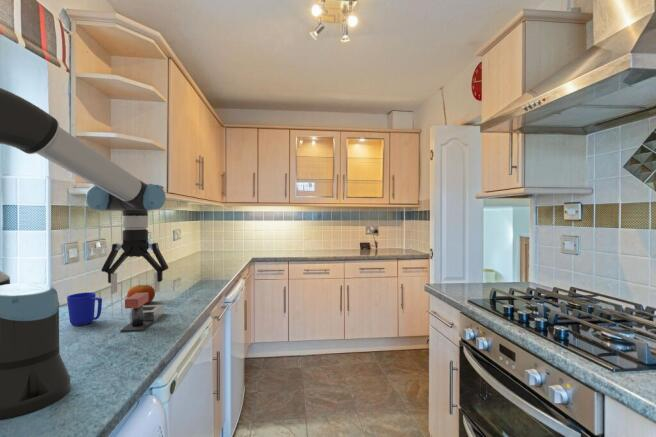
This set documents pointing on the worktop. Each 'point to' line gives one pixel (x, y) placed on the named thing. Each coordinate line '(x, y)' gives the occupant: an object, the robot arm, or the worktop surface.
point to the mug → (83, 308)
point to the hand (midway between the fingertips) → (135, 292)
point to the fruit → (142, 291)
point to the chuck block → (151, 312)
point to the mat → (139, 328)
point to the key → (137, 307)
